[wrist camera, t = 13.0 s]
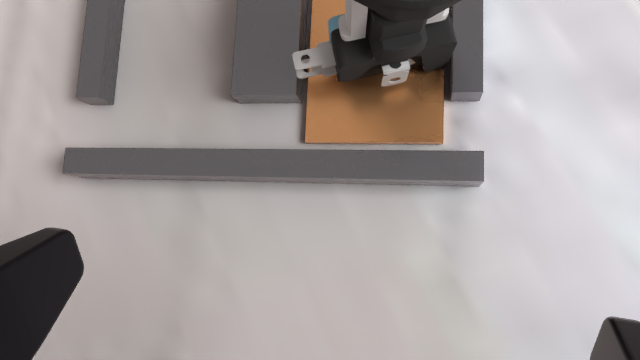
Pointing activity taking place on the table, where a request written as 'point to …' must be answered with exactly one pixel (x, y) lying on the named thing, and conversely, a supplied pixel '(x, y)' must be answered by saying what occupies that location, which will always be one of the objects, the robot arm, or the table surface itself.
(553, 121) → the table surface
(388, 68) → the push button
